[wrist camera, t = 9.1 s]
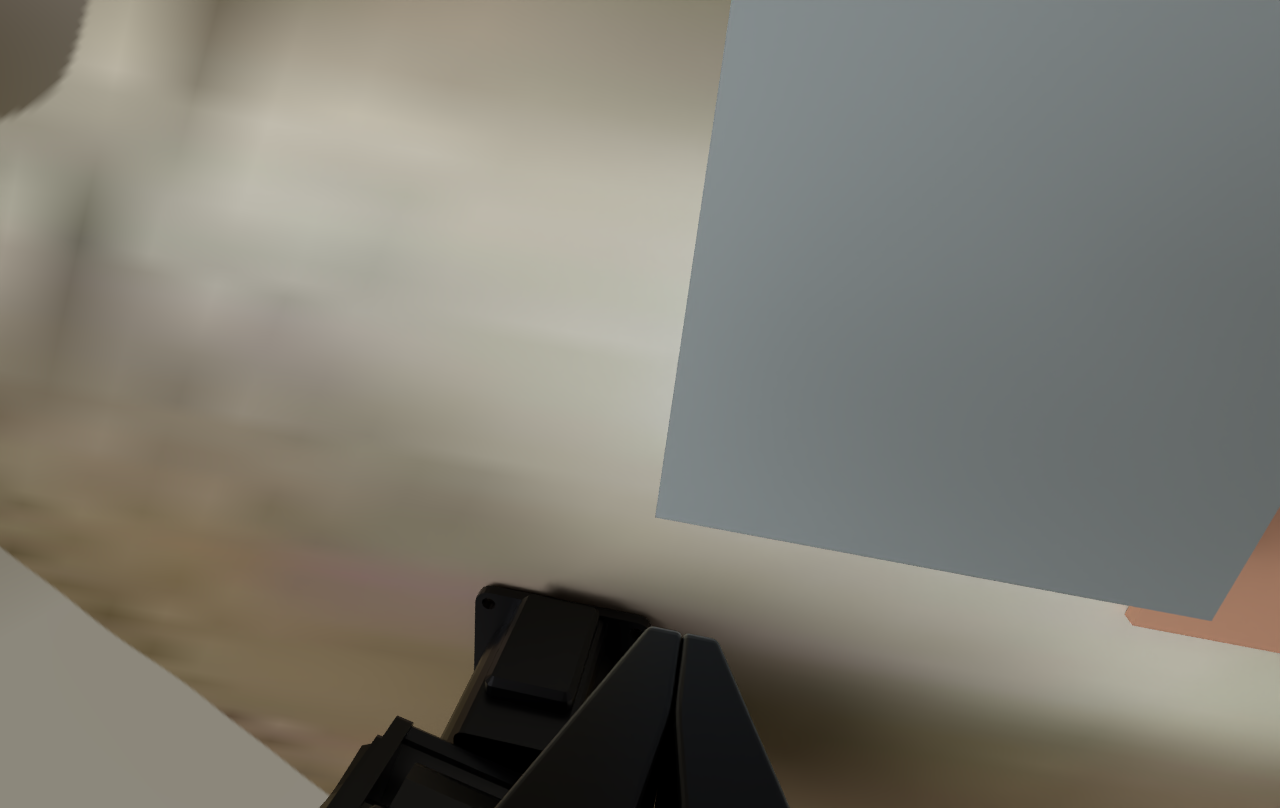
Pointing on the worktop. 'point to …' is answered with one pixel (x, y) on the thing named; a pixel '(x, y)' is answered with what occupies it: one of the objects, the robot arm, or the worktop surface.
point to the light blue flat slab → (992, 291)
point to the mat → (1236, 603)
